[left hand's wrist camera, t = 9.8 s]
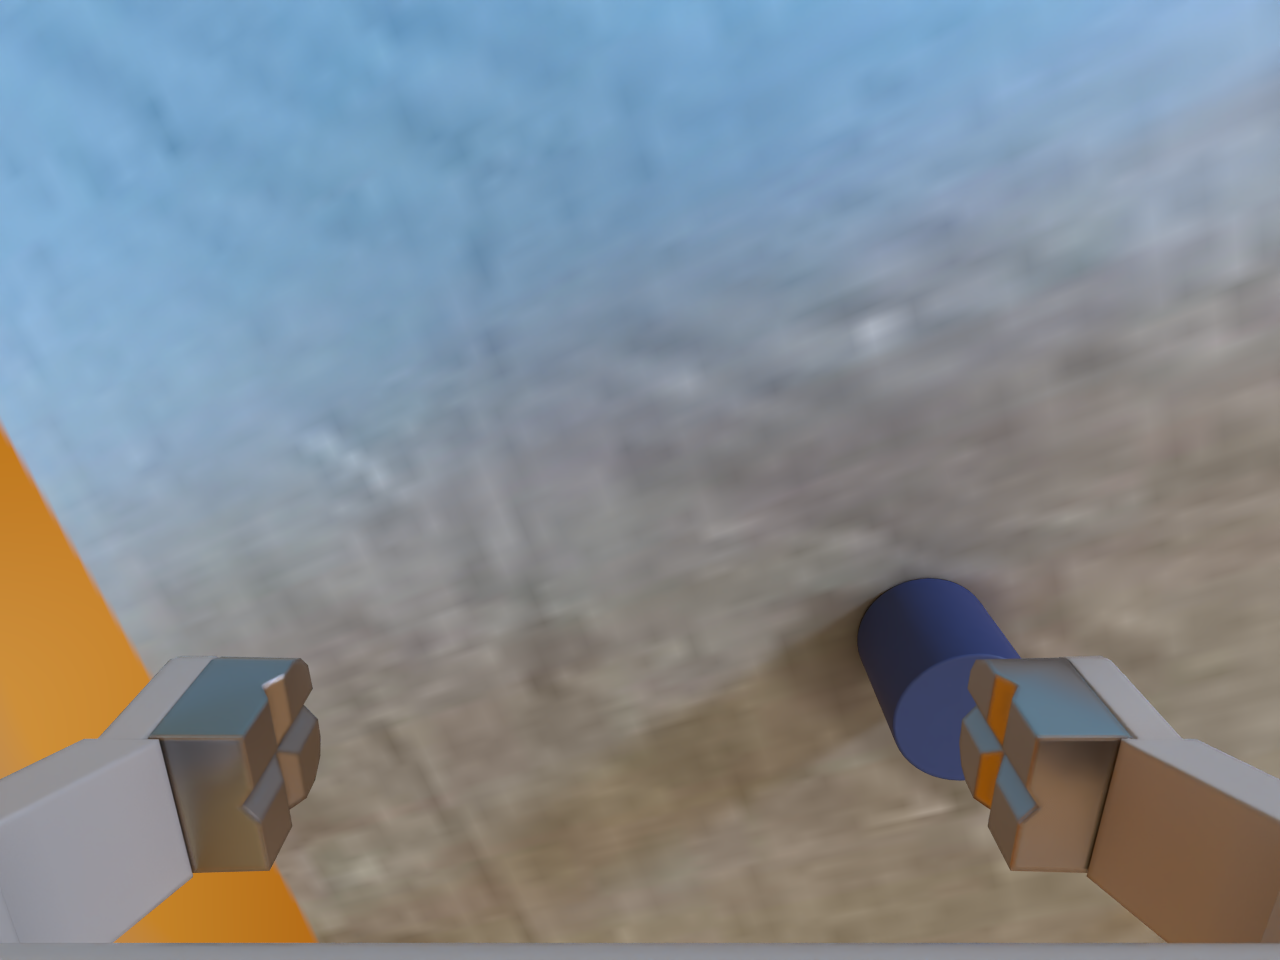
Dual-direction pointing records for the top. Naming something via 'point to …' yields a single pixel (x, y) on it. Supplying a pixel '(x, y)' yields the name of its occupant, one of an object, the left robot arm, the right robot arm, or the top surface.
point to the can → (928, 666)
